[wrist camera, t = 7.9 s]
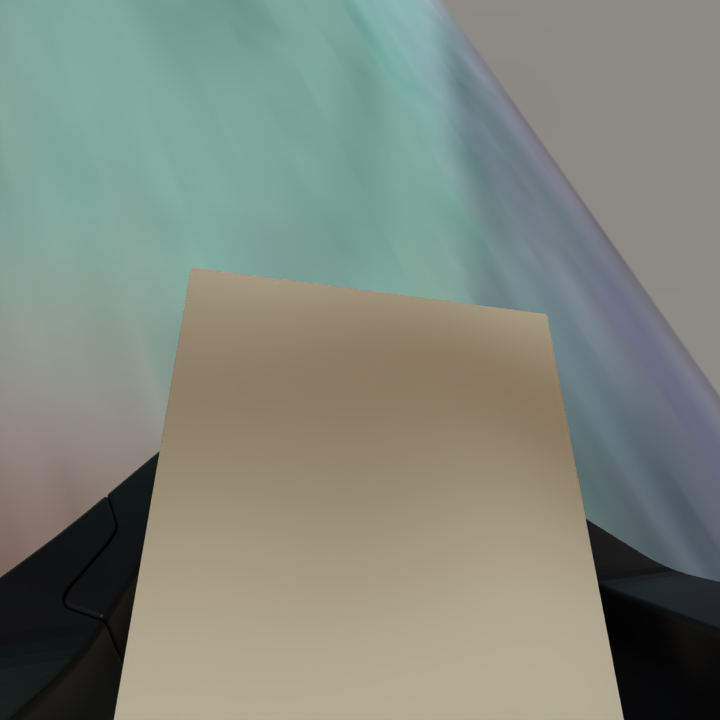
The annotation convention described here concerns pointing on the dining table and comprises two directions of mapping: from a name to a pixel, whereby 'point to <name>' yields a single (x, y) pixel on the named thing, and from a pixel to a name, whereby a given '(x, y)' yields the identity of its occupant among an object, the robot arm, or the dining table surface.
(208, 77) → the dining table surface
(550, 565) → the maple pillar block
